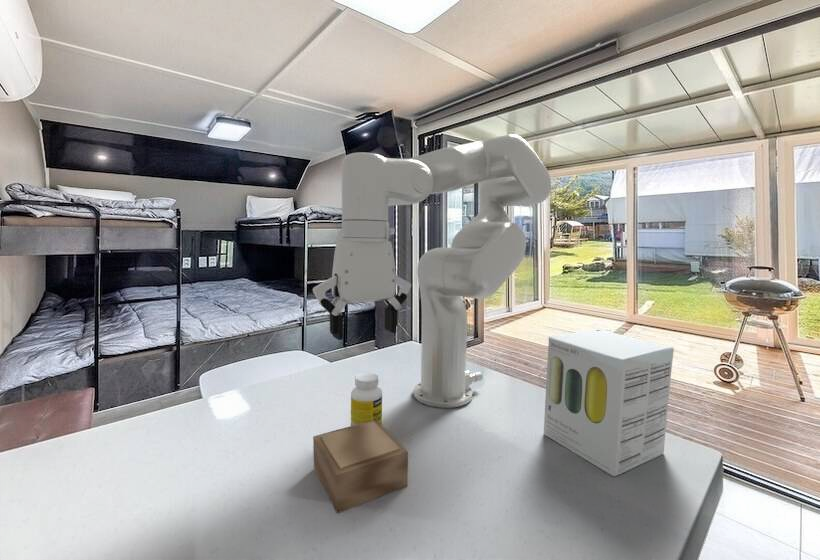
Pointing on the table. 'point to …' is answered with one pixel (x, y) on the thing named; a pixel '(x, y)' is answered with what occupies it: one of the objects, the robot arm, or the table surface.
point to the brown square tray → (359, 464)
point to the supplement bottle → (366, 399)
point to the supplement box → (608, 397)
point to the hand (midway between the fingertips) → (364, 334)
